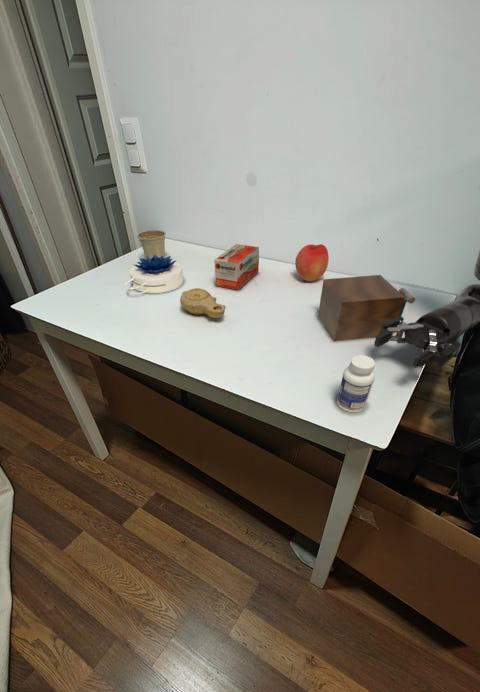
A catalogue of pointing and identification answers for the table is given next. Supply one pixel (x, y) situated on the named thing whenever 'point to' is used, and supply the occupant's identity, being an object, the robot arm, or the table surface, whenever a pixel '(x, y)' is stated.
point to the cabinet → (358, 306)
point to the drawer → (406, 299)
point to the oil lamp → (201, 303)
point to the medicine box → (236, 266)
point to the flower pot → (153, 243)
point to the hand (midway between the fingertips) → (395, 352)
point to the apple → (312, 262)
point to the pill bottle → (356, 384)
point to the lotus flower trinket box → (155, 275)
